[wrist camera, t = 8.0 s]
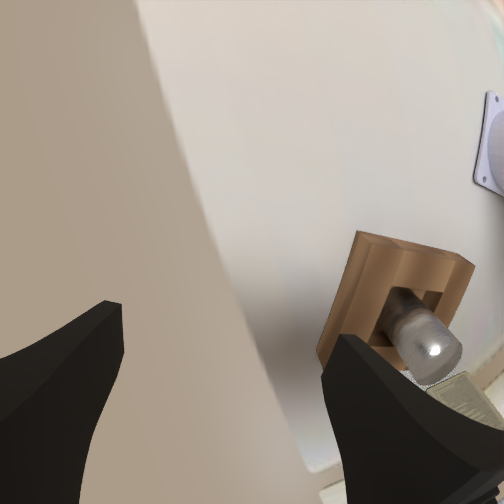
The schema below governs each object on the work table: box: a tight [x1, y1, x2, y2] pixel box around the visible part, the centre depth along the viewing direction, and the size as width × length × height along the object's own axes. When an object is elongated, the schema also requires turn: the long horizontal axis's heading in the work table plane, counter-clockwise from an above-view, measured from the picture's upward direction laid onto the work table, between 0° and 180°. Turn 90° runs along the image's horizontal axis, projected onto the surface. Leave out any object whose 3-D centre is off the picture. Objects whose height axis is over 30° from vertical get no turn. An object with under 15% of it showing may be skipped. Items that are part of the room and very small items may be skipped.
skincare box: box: [426, 371, 504, 431], centre depth 21 cm, size 6×4×12 cm
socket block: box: [316, 231, 475, 371], centre depth 20 cm, size 10×10×2 cm
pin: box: [377, 286, 462, 385], centre depth 18 cm, size 4×4×7 cm
